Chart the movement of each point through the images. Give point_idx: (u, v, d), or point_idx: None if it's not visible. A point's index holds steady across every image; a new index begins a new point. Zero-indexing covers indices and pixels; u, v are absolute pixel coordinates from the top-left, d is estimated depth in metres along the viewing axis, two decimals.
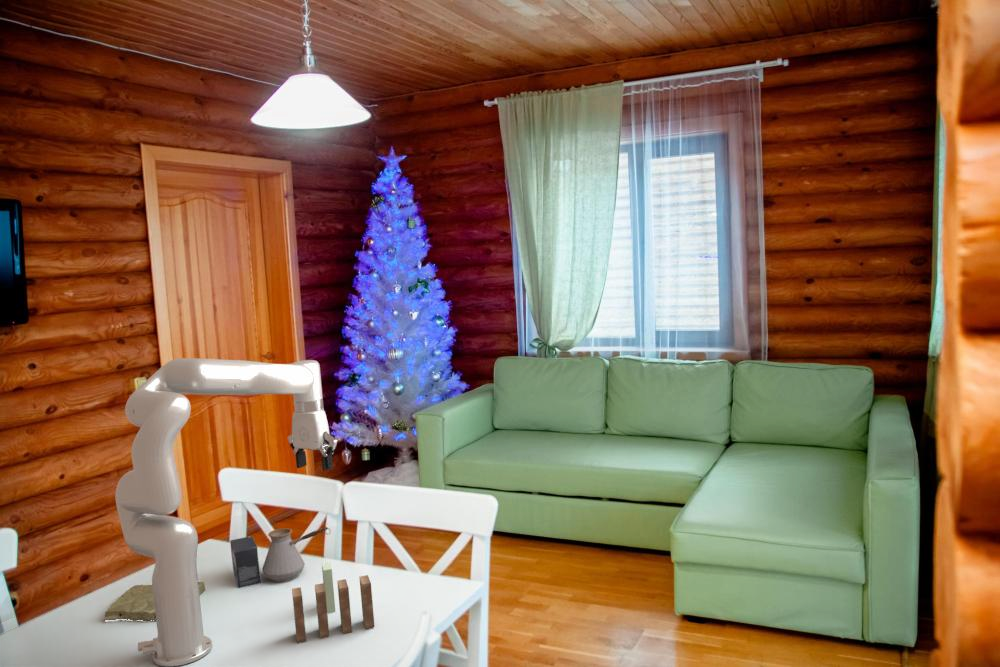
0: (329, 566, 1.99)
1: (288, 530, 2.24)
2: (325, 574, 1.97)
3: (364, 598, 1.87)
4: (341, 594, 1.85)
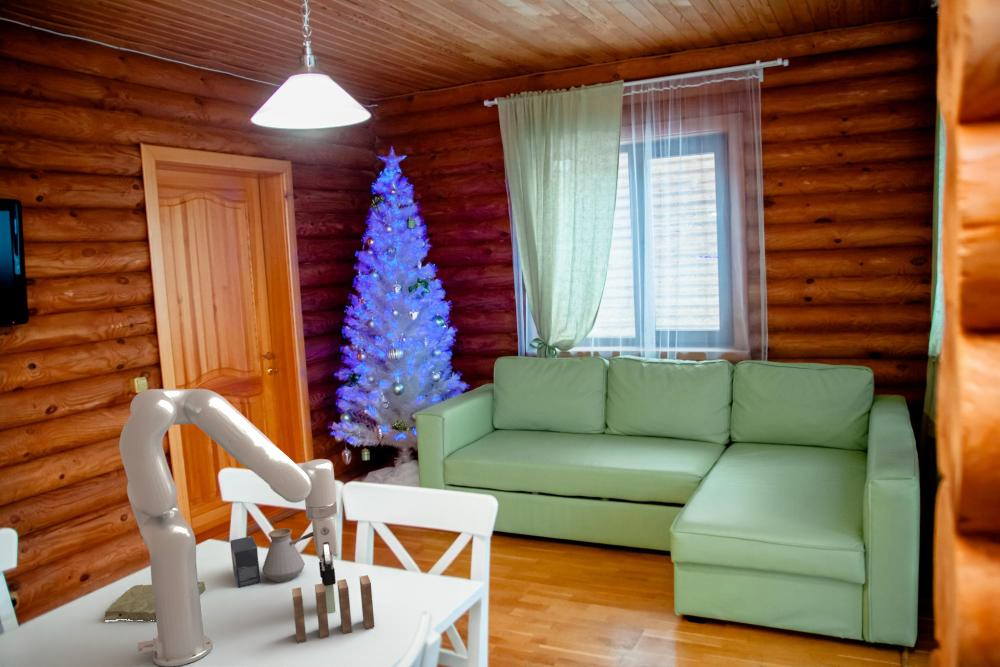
0: None
1: (288, 530, 2.24)
2: None
3: (364, 598, 1.87)
4: (341, 594, 1.85)
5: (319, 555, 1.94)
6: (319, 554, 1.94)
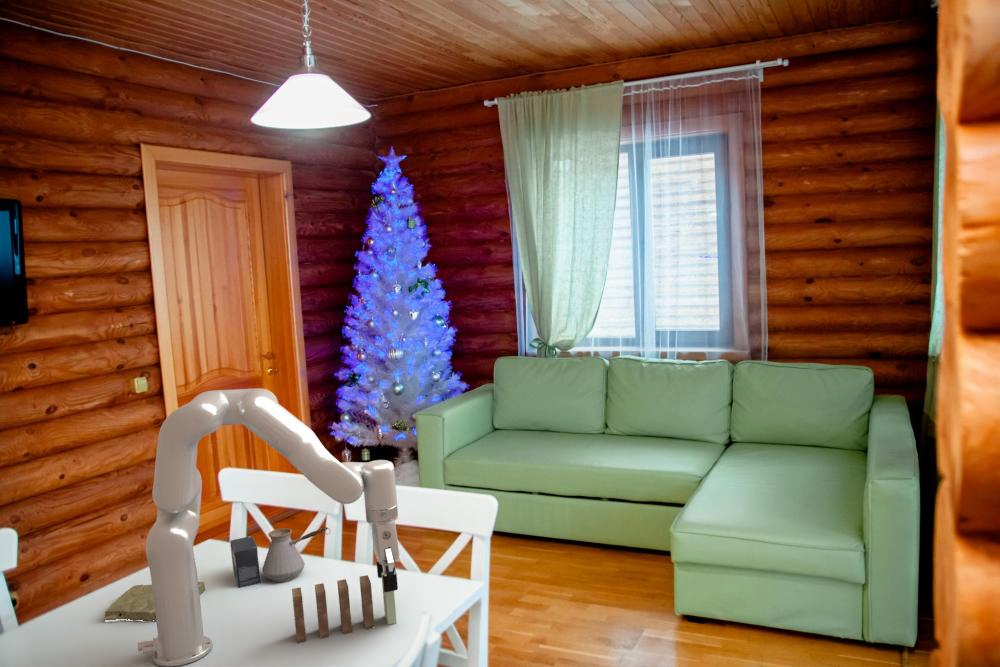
0: None
1: (288, 530, 2.24)
2: None
3: (364, 598, 1.87)
4: (341, 594, 1.85)
5: (380, 560, 1.85)
6: (380, 559, 1.85)
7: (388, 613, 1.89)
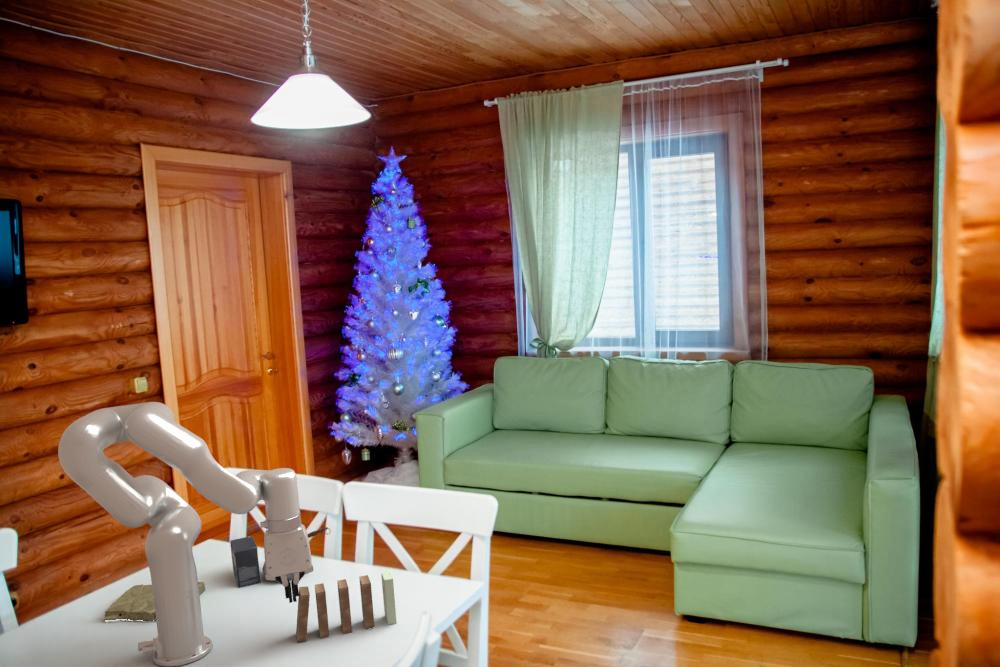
0: (390, 575, 1.90)
1: None
2: (386, 584, 1.88)
3: (364, 598, 1.87)
4: (341, 594, 1.85)
5: None
6: None
7: (388, 613, 1.89)
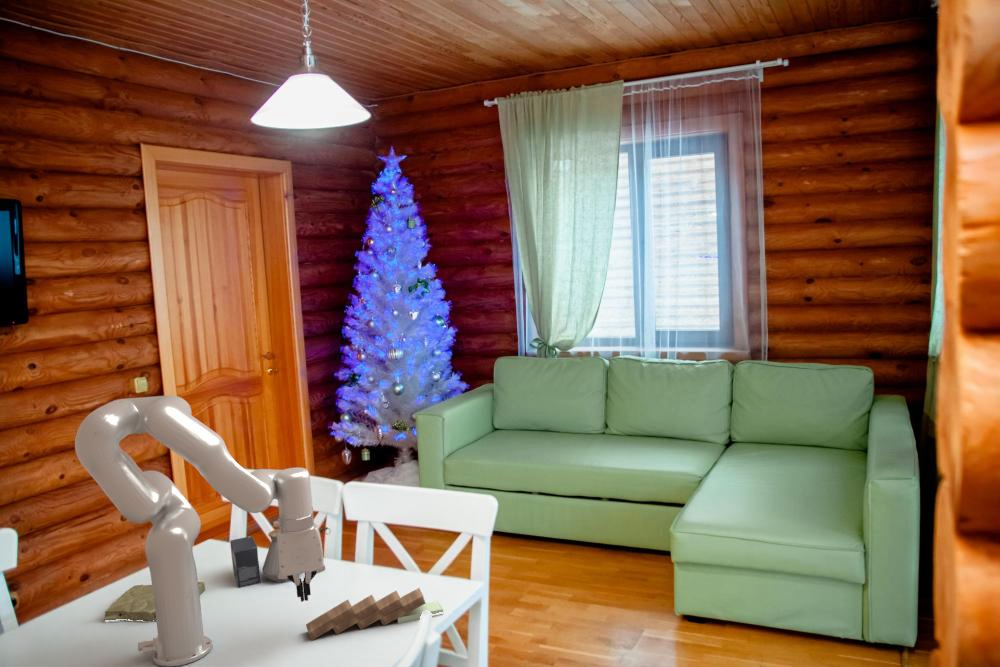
0: None
1: None
2: (438, 611, 1.92)
3: (409, 604, 1.90)
4: (393, 603, 1.89)
5: None
6: None
7: (409, 616, 1.90)
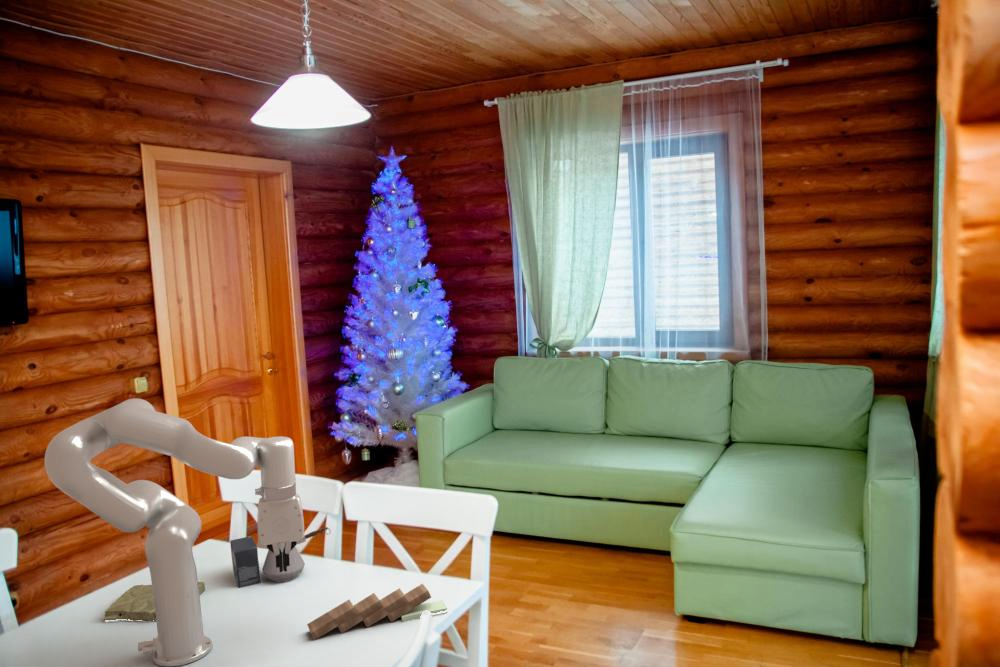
0: None
1: None
2: (442, 610, 1.93)
3: (415, 599, 1.92)
4: (399, 599, 1.91)
5: None
6: None
7: (413, 616, 1.91)
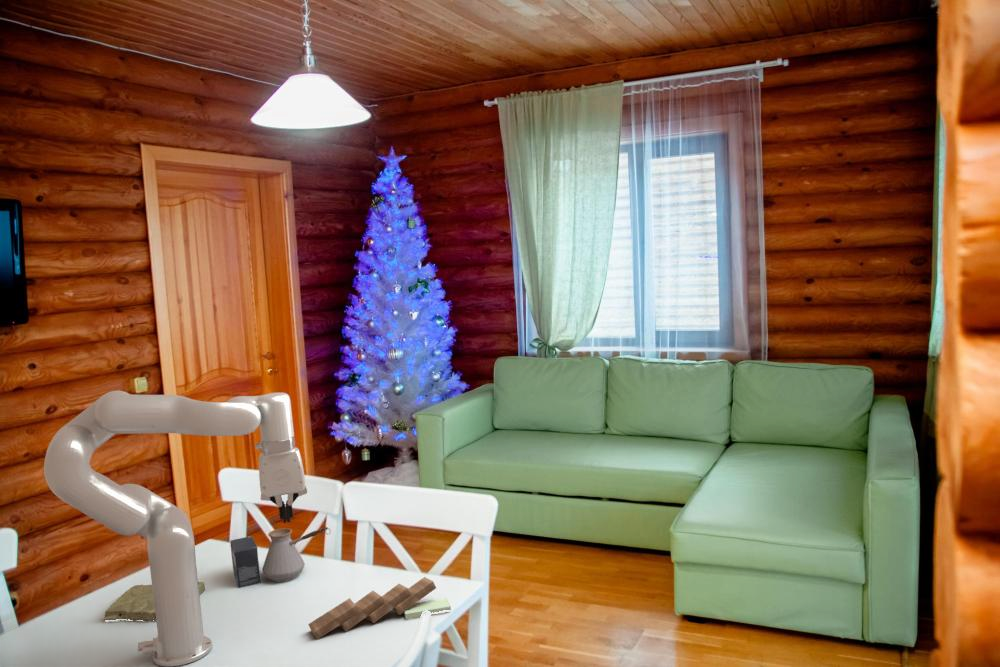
0: None
1: (288, 530, 2.24)
2: (446, 608, 1.94)
3: (421, 590, 1.95)
4: (403, 592, 1.94)
5: None
6: None
7: (416, 613, 1.92)
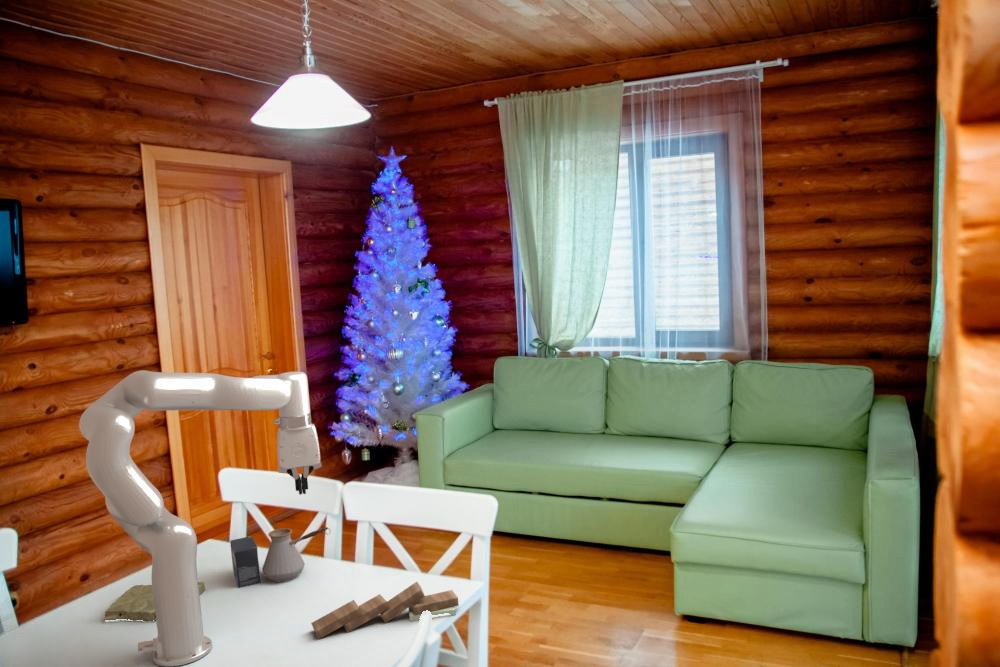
0: None
1: (288, 530, 2.24)
2: (450, 611, 1.92)
3: (444, 601, 1.93)
4: (416, 594, 1.91)
5: None
6: None
7: None
